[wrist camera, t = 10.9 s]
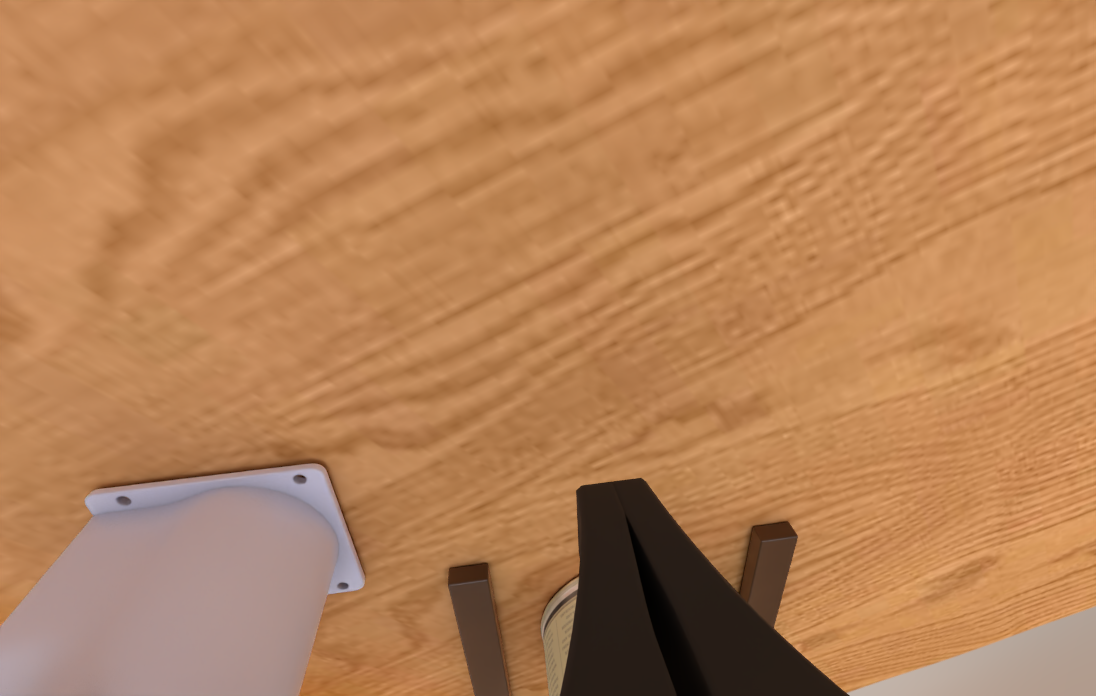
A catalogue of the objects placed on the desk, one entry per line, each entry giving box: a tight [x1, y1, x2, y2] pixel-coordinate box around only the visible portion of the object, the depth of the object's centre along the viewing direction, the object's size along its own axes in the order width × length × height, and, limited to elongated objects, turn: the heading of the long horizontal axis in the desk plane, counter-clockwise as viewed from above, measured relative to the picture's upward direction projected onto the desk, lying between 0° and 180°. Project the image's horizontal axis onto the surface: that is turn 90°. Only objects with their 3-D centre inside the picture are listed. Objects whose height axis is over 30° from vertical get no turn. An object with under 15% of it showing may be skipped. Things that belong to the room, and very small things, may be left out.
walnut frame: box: [448, 522, 798, 696], centre depth 30 cm, size 18×16×1 cm
